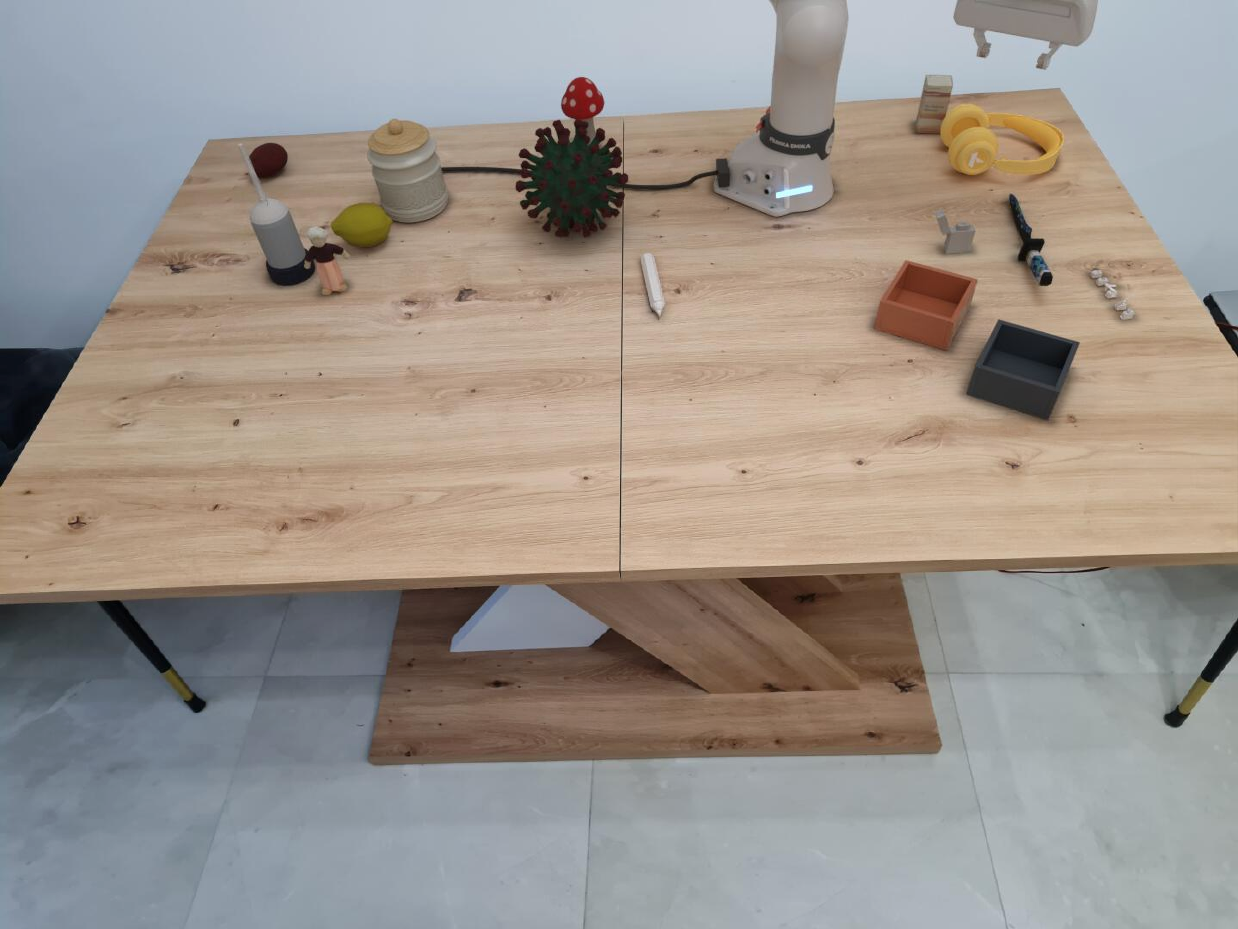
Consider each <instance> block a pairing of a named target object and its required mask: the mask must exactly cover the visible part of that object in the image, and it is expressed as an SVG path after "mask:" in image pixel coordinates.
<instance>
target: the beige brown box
mask: <svg viewBox="0 0 1238 929" xmlns="http://www.w3.org/2000/svg"><path fill="white" fill-rule="evenodd" d="M953 81H954V80H953V75H951V74H950V75H949V74H925V77H924V81H923V86H922V91H921V95H920V100H919V105H918V109H917V114H916V118H915V131H916V134H934V135H935V134H938V135H939V134H940V135H941V124H942V121H943V119H944V118H945V116H946V115H947V113H948V108H949V105H950V104H949V103H950V100H951V95H952V92H953V88H954V82H953Z"/></svg>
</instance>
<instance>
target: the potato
mask: <svg viewBox="0 0 1238 929" xmlns="http://www.w3.org/2000/svg"><path fill="white" fill-rule="evenodd" d="M248 156H249V157H248V158H250V160H251V162H250V163H252V164H251V165H253V167H252V168H254V171H255V173H256V175H257V176H256V177H258V178H257V179H269V178H271V177H274V176H275V175H277V174H278V173H281V171H283V169H284V168H285V167H286V165H287V163H288V159H289V154H288V151H287V150H286V149H285V148H284V146H283V145H281V144H279V143H276V142H265V143H262V144H260V145H258V146H256V147H255V148H254V149H253V150H252V152H251V153H250V154H249V155H248ZM250 160H249V161H250Z"/></svg>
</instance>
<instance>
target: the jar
mask: <svg viewBox="0 0 1238 929" xmlns="http://www.w3.org/2000/svg"><path fill="white" fill-rule="evenodd" d="M367 146H368V149H367V152H366V159H367V161H368V162H369V164H370V165H371V175H372V178H373V179H374V182H375V185H376V189H377V192H378V195H379V200H380V202H379V203H380V204H381V208H382V209H383V210H384V211H385V213H386V215H387V216H388V217H390V218H391V219H392V221H395V222H400V223H419V222H424V221H426V220H429V219H433V218H434V217H436V216H437V215H439V214H440V213H441V212H443V211H444V210H445V208H446V207H447V206H448V204H449V191H448V186H447V185H446V182H445V179H444V175H443V172H442V169H441V167H442V166H441V158H440V156H439V155H438V153H436V150H437V146H438V145H437V141H436V140H435V138H434V137H433V136H431V135H430V131H429V129H428V128H427V127H426V126H425V125H423V124H422V123H421V124H420V123H416V122H415V121H412V120H405V119H403V120H400V119H398V118H392V119H390V120H389V121H388V122H387V123H384V124H382V125H380V126H379V127H378V128H377V129H376V130H375V131H374V132H373V133H371V135H370V136H369V137H368V139H367Z"/></svg>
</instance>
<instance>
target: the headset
mask: <svg viewBox="0 0 1238 929" xmlns="http://www.w3.org/2000/svg"><path fill="white" fill-rule="evenodd" d="M990 126H992V127H1000V128H1001V127H1002V128H1007V129H1011V130H1013V131H1015V132H1017V133H1019V134H1021V135H1023V136H1025V137H1027V138H1029V139H1030V140H1032V141H1033V142H1034V143H1036V144H1038V146H1040V147H1041V148H1042V149H1043V150H1044V151H1045V152H1046V153H1045V154H1043V155H1042V156H1039V157H1038V158H1035V159H1033V160H1014V159H1013V160H1011V159H1008V158H1006V157H1002V158H1000V159H998V160H996V158H997V155H998V153H999V141H998V137H997V135H996V134H995V132H994V131H992V130H991V129H989V128H990ZM940 138H941V141H942V143H943V144H944V145H945V146H946V147H947V148H948V149H947V158H948V162H949V164H950V165H951V167H952V168H953V169H954V170H956V171H957V172H959V173H961V174H965V175H968V176H976V175H980V174H982V173H984V172H986V171H987V170H988V169H990V167H991V166H992V165H993V168H994V169H995V170H996V171H999V172H1002V173H1005V174H1011V175H1022V176H1024V175H1026V176H1031V175H1032V176H1033V175H1039V174H1043V173H1046V172H1048V171H1051V170H1052V169H1053V167H1054V166H1055V164H1056V162H1057V159H1058V157H1059V154H1060V152H1061V151H1062V147H1063V145H1064V142H1065V141H1066V139H1065V134H1064V133H1063V131H1062V130H1060V128H1058V127H1057V126H1055V125H1053V124H1052V123H1049V122H1047V121H1043V120H1041V119H1038V118H1035V117H1031V116H1026V115H1022V114H1017V113H1010V112H1009V113H1008V112H986V111H985V109H983V107H980V106H979V105H976V104H972V103H962V104H961V103H960V104H958V105H956V106H954V107H952V108H951V109H950V110H948V111H947V113H946V116H945V118H944V119H943V121H942V124H941V134H940Z"/></svg>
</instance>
